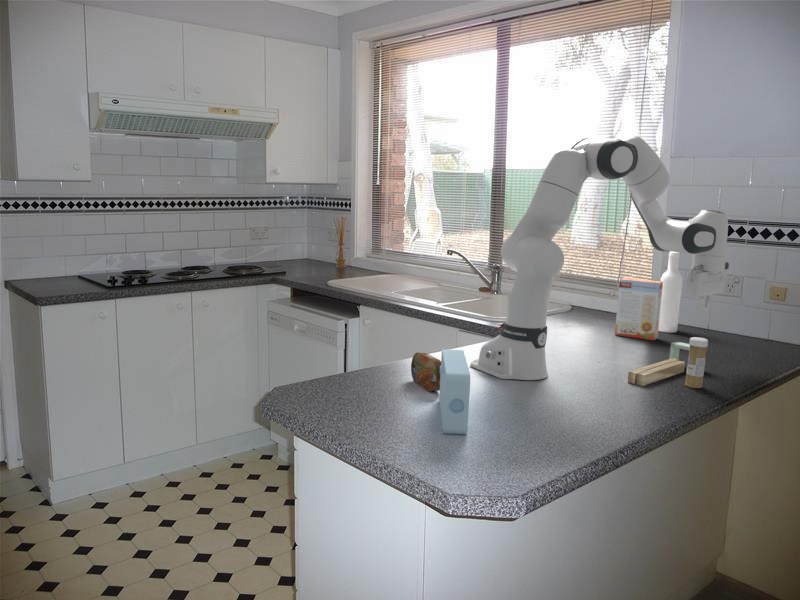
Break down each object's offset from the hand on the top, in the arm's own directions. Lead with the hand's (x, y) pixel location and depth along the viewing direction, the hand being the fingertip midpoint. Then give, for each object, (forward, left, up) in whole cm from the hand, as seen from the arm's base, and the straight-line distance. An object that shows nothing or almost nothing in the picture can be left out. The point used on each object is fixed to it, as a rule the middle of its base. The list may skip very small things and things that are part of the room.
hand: (702, 309), depth 211 cm
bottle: (-30, +41, -18) cm, 54 cm away
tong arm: (+1, -25, -17) cm, 30 cm away
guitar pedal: (-12, -98, -18) cm, 100 cm away
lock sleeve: (0, -8, -17) cm, 19 cm away
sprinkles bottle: (+10, -25, -18) cm, 32 cm away
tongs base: (-1, -24, -17) cm, 29 cm away
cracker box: (-31, +20, -18) cm, 41 cm away
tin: (-32, -86, -18) cm, 93 cm away
